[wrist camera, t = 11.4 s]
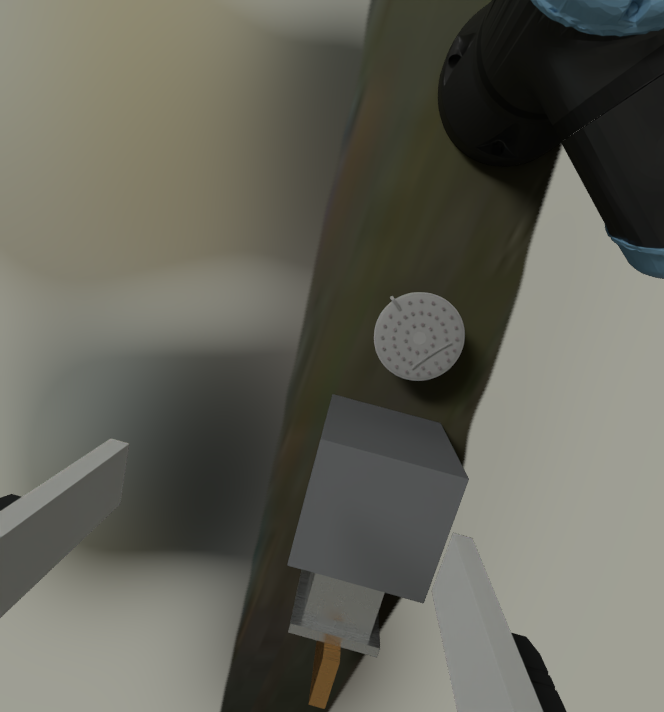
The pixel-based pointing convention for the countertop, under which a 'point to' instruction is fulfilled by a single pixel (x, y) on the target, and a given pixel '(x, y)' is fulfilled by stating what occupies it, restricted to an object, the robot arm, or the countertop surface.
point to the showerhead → (419, 336)
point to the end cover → (334, 625)
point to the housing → (379, 500)
